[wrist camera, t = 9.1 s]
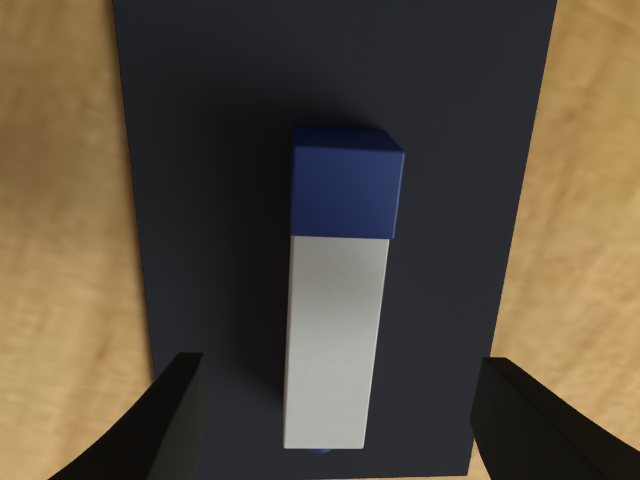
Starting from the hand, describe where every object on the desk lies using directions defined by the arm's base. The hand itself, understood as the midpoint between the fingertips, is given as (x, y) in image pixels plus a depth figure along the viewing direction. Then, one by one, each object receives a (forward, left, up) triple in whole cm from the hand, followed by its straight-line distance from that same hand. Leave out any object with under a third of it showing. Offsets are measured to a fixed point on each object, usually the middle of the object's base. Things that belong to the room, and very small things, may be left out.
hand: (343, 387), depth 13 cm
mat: (0, 0, -6) cm, 6 cm away
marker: (0, 0, -6) cm, 6 cm away
